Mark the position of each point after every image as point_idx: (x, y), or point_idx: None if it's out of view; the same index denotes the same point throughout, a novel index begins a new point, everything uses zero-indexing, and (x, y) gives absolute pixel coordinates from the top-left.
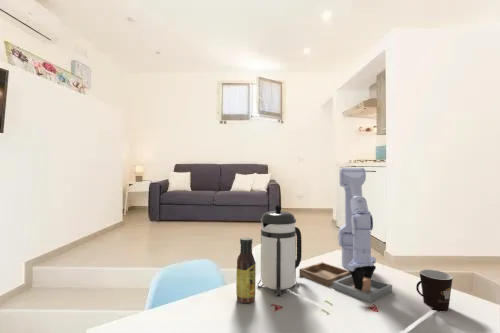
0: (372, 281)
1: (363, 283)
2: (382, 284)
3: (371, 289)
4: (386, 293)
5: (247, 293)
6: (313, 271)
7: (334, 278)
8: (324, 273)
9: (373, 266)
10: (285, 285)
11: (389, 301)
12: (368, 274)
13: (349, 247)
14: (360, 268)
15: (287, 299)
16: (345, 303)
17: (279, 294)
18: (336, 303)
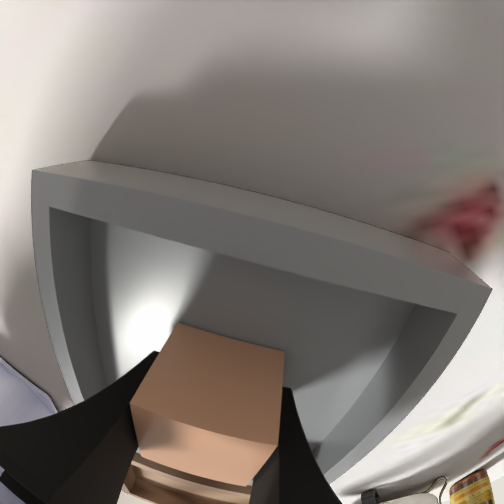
0: (74, 339)
1: (276, 425)
2: (61, 258)
3: (157, 317)
4: (158, 178)
5: (490, 484)
6: (190, 496)
7: (249, 491)
8: (173, 481)
9: (12, 476)
10: (431, 501)
11: (257, 123)
12: (112, 443)
13: (2, 468)
14: (115, 499)
15: (455, 463)
16: (458, 371)
17: (446, 480)
18: (465, 393)
